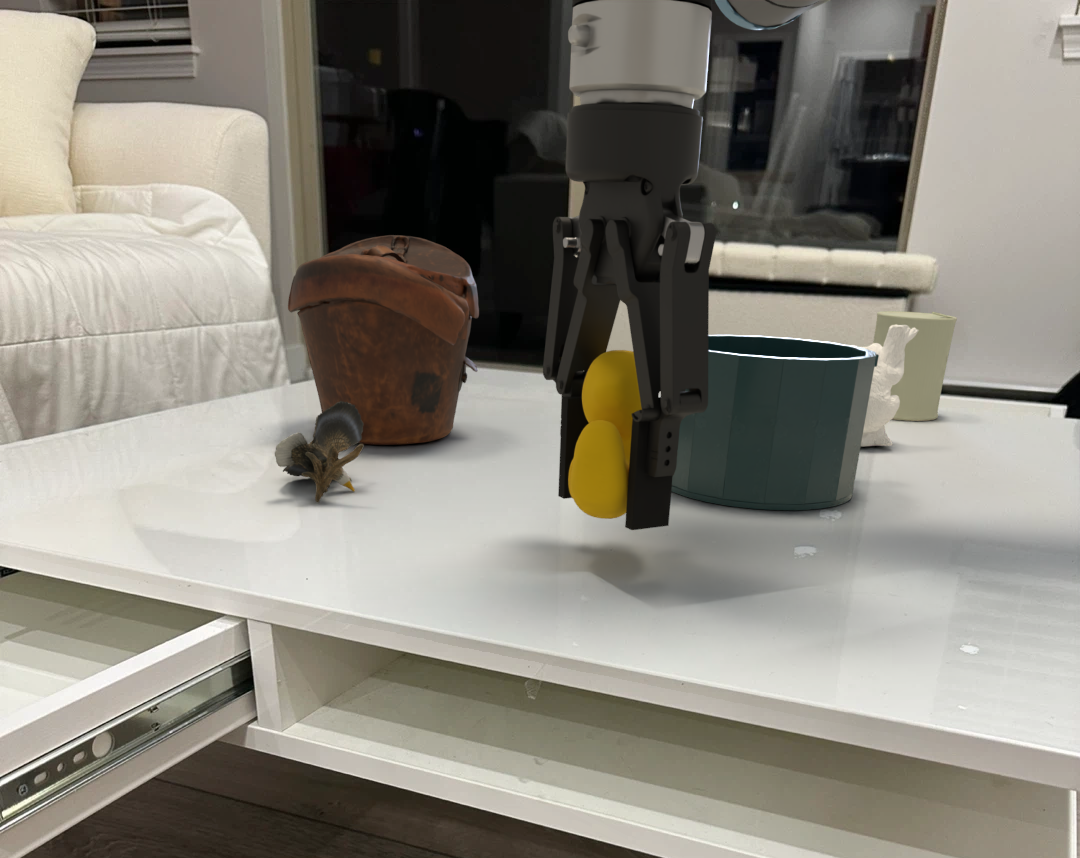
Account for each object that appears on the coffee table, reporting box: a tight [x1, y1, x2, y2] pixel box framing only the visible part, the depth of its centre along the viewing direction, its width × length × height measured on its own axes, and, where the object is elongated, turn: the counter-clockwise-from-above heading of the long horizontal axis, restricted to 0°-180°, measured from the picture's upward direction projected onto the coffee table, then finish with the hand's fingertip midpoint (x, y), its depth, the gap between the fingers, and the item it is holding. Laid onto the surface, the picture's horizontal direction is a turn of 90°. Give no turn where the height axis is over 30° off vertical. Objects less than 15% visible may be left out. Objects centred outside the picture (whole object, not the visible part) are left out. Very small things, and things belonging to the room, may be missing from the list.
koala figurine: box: [850, 325, 919, 448], centre depth 108 cm, size 8×7×12 cm
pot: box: [671, 334, 879, 511], centre depth 89 cm, size 17×22×12 cm
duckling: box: [568, 349, 642, 520], centre depth 67 cm, size 11×5×10 cm, turn 164°
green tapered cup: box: [872, 310, 958, 422], centre depth 127 cm, size 9×9×12 cm
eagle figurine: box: [274, 401, 365, 503], centre depth 82 cm, size 8×7×9 cm
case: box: [287, 234, 480, 446], centre depth 101 cm, size 18×20×18 cm
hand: (610, 509), depth 68 cm, fingers closed on duckling, 8 cm apart
